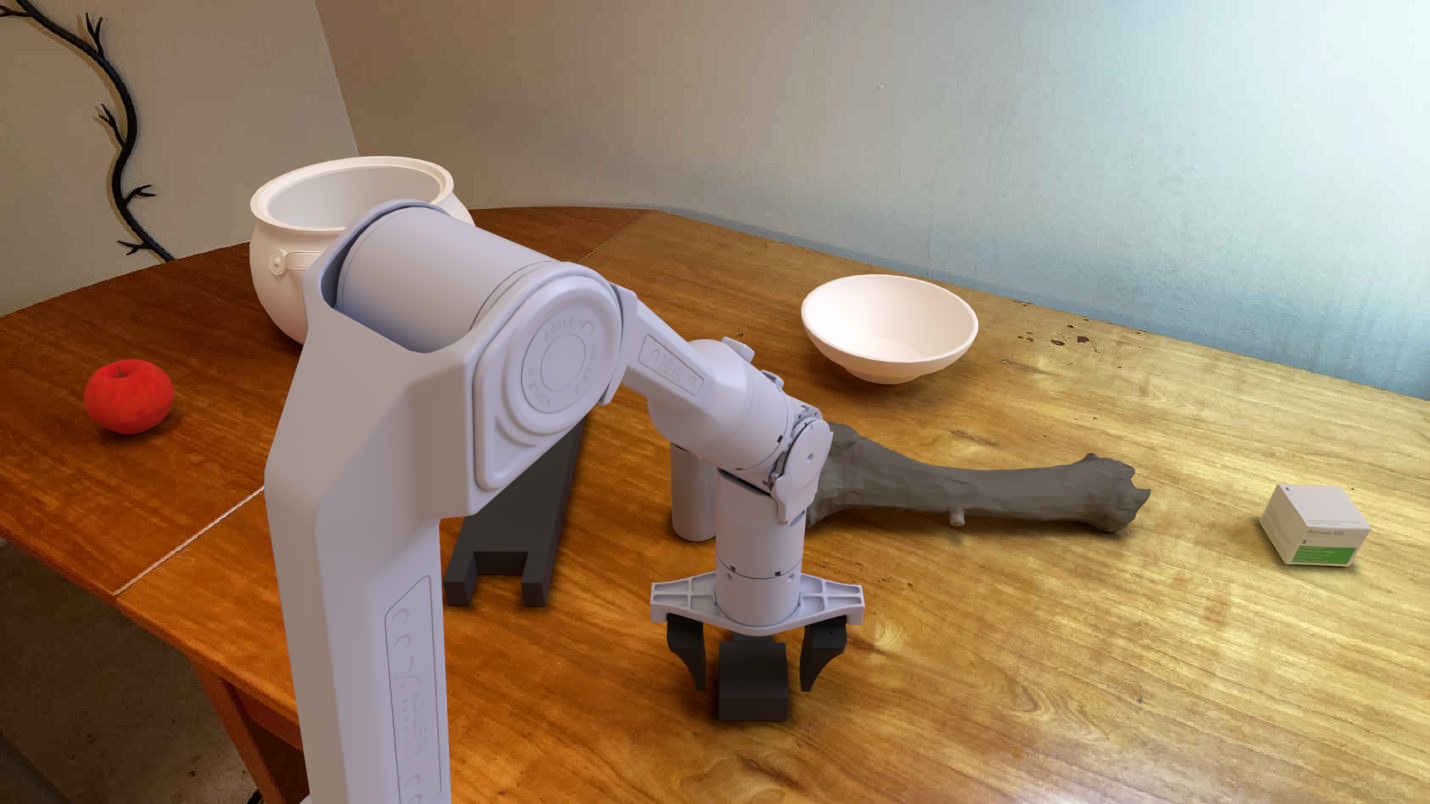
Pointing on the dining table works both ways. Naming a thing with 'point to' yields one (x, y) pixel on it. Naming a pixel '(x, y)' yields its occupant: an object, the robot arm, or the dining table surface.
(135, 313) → the dining table surface
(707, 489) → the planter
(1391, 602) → the dining table surface
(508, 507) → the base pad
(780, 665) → the pad
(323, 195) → the pot
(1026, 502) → the bone
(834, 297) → the bowl
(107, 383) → the apple
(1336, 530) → the small box
